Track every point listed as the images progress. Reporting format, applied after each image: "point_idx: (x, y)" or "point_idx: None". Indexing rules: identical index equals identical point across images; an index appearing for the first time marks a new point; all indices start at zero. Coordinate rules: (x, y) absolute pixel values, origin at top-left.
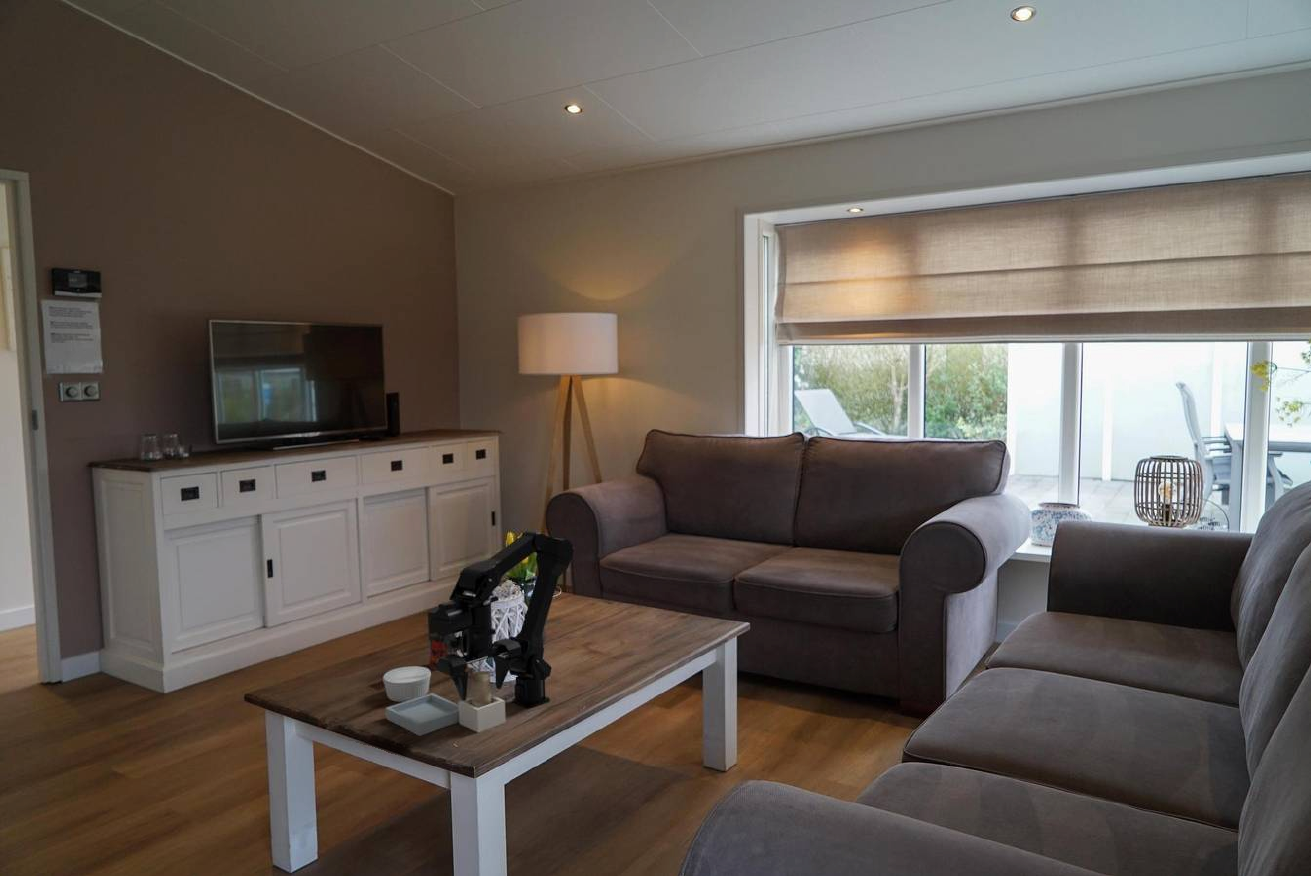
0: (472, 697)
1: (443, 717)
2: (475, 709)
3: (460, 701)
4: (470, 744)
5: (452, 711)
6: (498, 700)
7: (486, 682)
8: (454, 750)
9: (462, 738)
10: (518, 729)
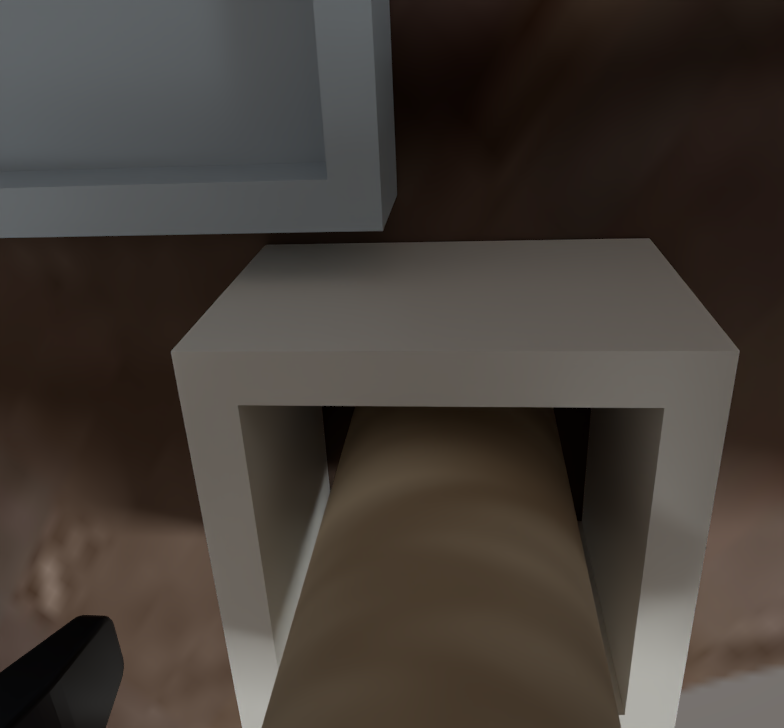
0: (301, 592)
1: (28, 233)
2: (237, 697)
3: (199, 370)
4: (148, 650)
5: (176, 187)
6: (627, 688)
7: None
8: (10, 643)
9: (142, 534)
10: None
